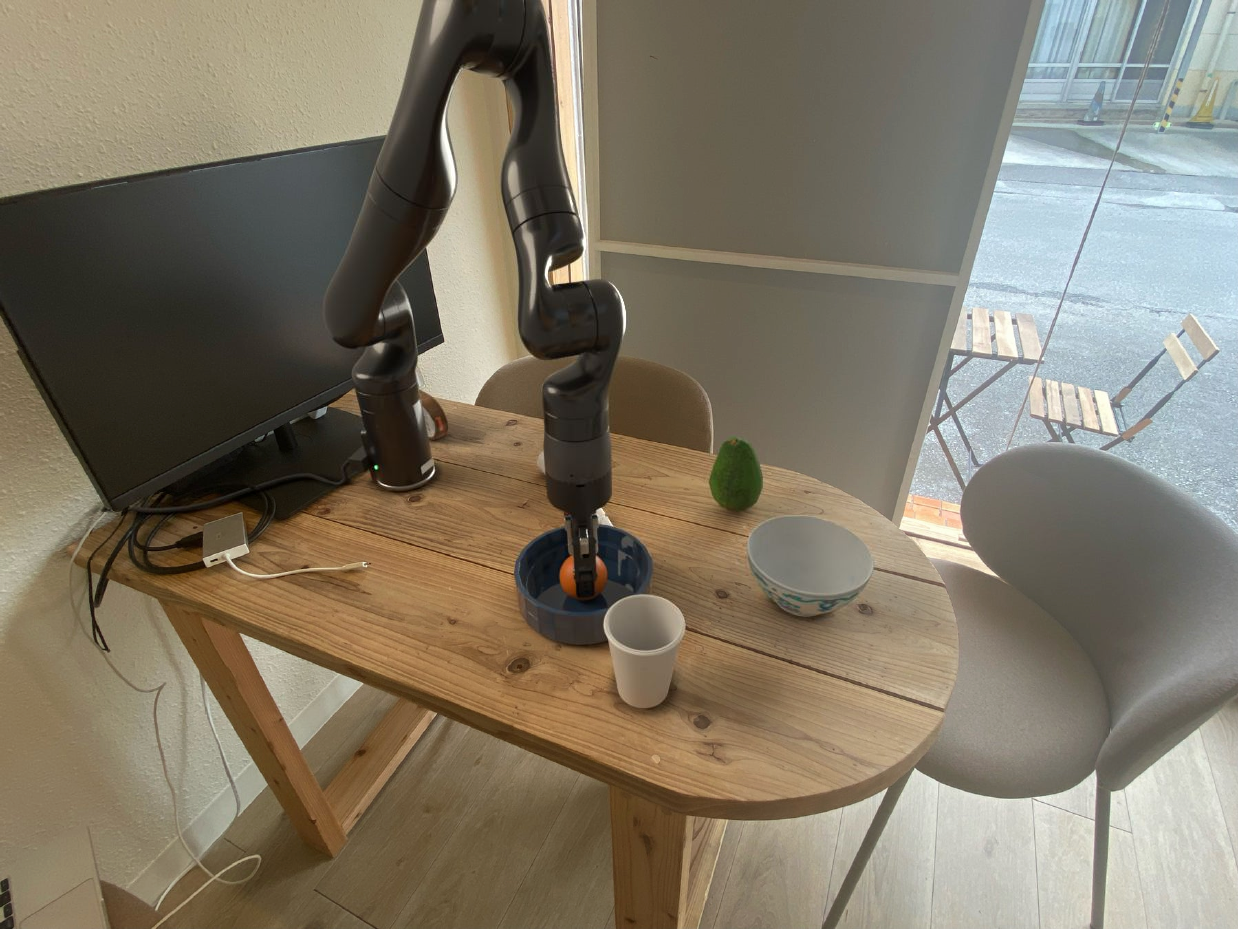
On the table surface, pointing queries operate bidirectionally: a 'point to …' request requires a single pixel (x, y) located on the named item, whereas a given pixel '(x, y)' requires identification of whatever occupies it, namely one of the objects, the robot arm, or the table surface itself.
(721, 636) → the table surface
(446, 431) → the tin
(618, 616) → the dixie cup
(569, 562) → the mandarin
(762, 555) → the chinaware
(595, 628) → the bowl
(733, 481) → the avocado
